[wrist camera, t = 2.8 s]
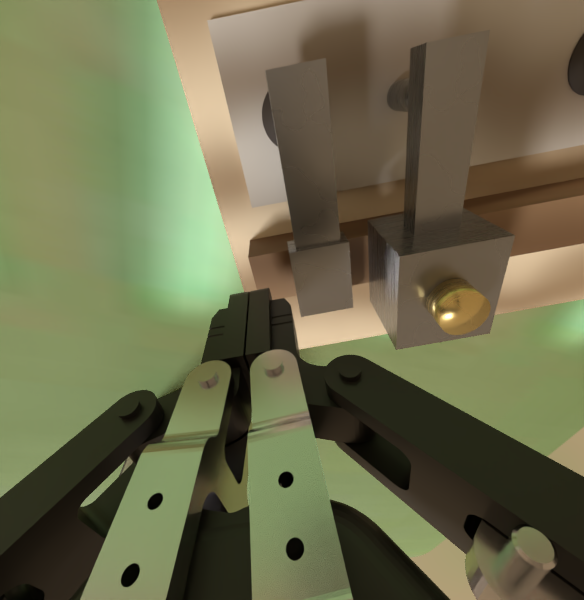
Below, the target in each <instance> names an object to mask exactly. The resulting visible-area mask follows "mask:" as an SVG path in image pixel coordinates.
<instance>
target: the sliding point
mask: <svg viewBox="0 0 584 600" xmlns="http://www.w3.org/2000/svg"><path fill="white" fill-rule="evenodd" d="M489 34H490V30H485V31H480V32H475V33H470V34H466V35H461V36H456V37H451V38H446V39H441V40H436V41H431V42H426V43H424V44H421V45H418V46H415V47H413V48H411V50H410V74H409V78H406V79H400V80H397V81H396V82H394V83H393V84H392V85H391V87H390V88H389V90H388V93H387V103H388V106H389V107H390V108H391V109H392V110H394V111H402V112H408V122H407V145H406V169H405V193H404V213H403V214H397V215H392V216H387V217H381V218H376V219H371V220H368V255H369V293H370V302H371V303H372V305H373V307H374V309H375V311H376V313H377V315H378V317H379V318H380V320H381V322H382V324H383V326H384V328H385V330H386V332H387V333H388V335H389V337H390V339H391V341H392V343H393V345H394V347H395V348H396V350H397V349H403V348H408V347H414V346H420V345H426V344H431V343H437V342H443V341H448V340H454V339H460V338H465V337H471V336H477V335H482V334H488V333H490V330H491V326H492V322H493V318H494V315H495V311H496V307H497V303H498V299H499V295H500V292H501V288H502V284H503V280H504V276H505V273H506V269H507V265H508V261H509V257H510V253H511V250H512V246H513V242H514V238H515V235H514V234H512V233H510V232H508V231H506V230H504V229H502V228H500V227H499V226H497V225H495V224H493V223H491V222H489V221H487V220H485V219H484V218H482V217H480V216H478V215H476V214H474V213H472V212H470V211H468V210H467V209H465V208H463V205H464V198H465V192H466V185H467V179H468V172H469V165H470V159H471V152H472V146H473V139H474V132H475V126H476V119H477V113H478V106H479V100H480V93H481V86H482V80H483V73H484V67H485V60H486V53H487V47H488V40H489Z"/></svg>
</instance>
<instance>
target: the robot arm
mask: <svg viewBox="0 0 584 600" xmlns="http://www.w3.org/2000/svg"><path fill="white" fill-rule="evenodd" d="M251 414H252V421H251ZM315 438H320V439H326V440H332V441H335V442H336V444H337V445H338V446H339V447H340V448H341V449H342V450H343V451H344V452H345V453H346V454H348V455H349V456H350V457H351V458H352V459H354V460H355V461H356V462H357V463H358V464H359V465H361V466H362V467H363V468H364V469H365V470H367V471H368V472H369V473H370V474H371V475H373V476H374V477H375V478H376V479H377V480H378V481H380V482H381V483H382V484H383V485H384V486H386V487H387V488H388V489H389V490H390V491H392V492H393V493H394V494H395V495H396V496H397V497H399V498H400V499H401V500H402V501H403V502H405V503H406V504H407V505H408V506H409V507H411V508H412V509H413V510H414V511H415V512H417V513H418V514H419V515H420V516H421V517H422V518H424V519H425V520H426V521H427V522H428V523H430V524H431V525H432V526H433V527H434V528H436V529H437V530H438V531H439V532H440V533H441V534H443V535H444V536H445V537H446V538H447V539H449V540H450V541H451V542H452V543H453V544H455V545H456V546H457V547H458V548H459V549H461V550H462V551H463V552H464V553H465V554H466V559H465V569H466V576H467V579H468V582H469V585H470V587H471V590H472V592H473V594H474V595H475V597H476V599H477V600H584V477H583V476H581V475H579V474H577V473H576V472H573V471H572V470H570V469H568V468H566V467H565V466H563V465H561V464H559V463H557V462H555V461H554V460H552V459H550V458H548V457H546V456H544V455H542V454H541V453H539V452H537V451H535V450H533V449H531V448H530V447H528V446H526V445H524V444H522V443H520V442H519V441H517V440H515V439H513V438H511V437H509V436H507V435H506V434H504V433H502V432H500V431H498V430H496V429H495V428H493V427H491V426H489V425H487V424H485V423H484V422H482V421H480V420H478V419H476V418H474V417H472V416H471V415H469V414H467V413H465V412H463V411H461V410H460V409H458V408H456V407H454V406H452V405H450V404H449V403H447V402H445V401H443V400H441V399H439V398H437V397H436V396H434V395H432V394H430V393H428V392H426V391H425V390H423V389H421V388H419V387H417V386H415V385H414V384H412V383H410V382H408V381H406V380H404V379H402V378H401V377H399V376H397V375H395V374H393V373H391V372H390V371H388V370H386V369H384V368H382V367H380V366H379V365H377V364H375V363H373V362H371V361H369V360H367V359H366V358H363V357H361V356H357V355H344V356H340V357H337V358H335V359H334V360H332V361H331V362H330V363H329V364H328V365H327V367H326V366H316V365H312V364H309V363H307V362H305V361H303V360H302V359H301V358H300V354H299V347H298V340H297V334H296V329H295V324H294V319H293V314H292V309H291V304H290V303H289V302H288V301H287V300H286V299H285V298H281V299H275V300H272V296H271V292H270V289H269V288H265V289H259V290H254V291H250V292H243V293H238V294H232V295H230V299H229V304H228V308H226V309H221V310H219V311H218V312H217V313H216V314H215V316H214V317H213V318H212V321H211V325H210V330H209V333H208V338H207V341H206V345H205V350H204V354H203V358H202V362H201V365H199V366H197V367H196V368H194V369H193V370H192V371H191V372H190V373H189V374H188V376H187V378H186V380H185V382H184V385H183V387H182V388H181V389H179V390H177V391H175V392H172V393H170V394H168V395H165V396H163V397H161V398H159V399H157V398H156V396H155V394H154V393H153V392H151V391H148V390H140V391H135V392H132V393H130V394H128V395H126V396H124V397H123V398H121V399H120V400H119V401H117V402H116V403H115V404H114V405H112V406H111V407H110V408H109V409H108V410H106V411H105V412H104V413H103V414H101V415H100V416H99V417H98V418H97V419H95V420H94V421H93V422H92V423H91V424H89V425H88V426H87V427H86V428H84V429H83V430H82V431H81V432H80V433H78V434H77V435H76V436H75V437H74V438H72V439H71V440H70V441H69V442H67V443H66V444H65V445H64V446H63V447H61V448H60V449H59V450H58V451H57V452H55V453H54V454H53V455H52V456H50V457H49V458H48V459H47V460H46V461H44V462H43V463H42V464H41V465H40V466H38V467H37V468H36V469H35V470H33V471H32V472H31V473H30V474H29V475H27V476H26V477H25V478H24V479H23V480H21V481H20V482H19V483H18V484H16V485H15V486H14V487H13V488H12V489H10V490H9V491H8V492H7V493H6V494H4V495H3V496H2V497H1V498H0V600H450V599H449V598H448V597H447V596H446V595H445V594H444V593H443V592H442V591H441V590H440V589H439V588H438V587H437V586H436V584H435V583H433V582H432V580H431V579H430V578H429V577H428V576H427V575H426V574H425V573H424V572H423V571H422V570H421V569H420V568H419V567H418V566H417V565H416V564H415V563H414V562H413V561H412V560H411V559H410V558H409V557H408V556H407V555H406V554H405V553H404V552H403V551H402V550H401V549H400V548H399V547H398V546H397V545H396V544H395V543H394V541H393V540H392V539H391V538H390V537H389V536H388V535H387V534H386V533H385V532H384V531H383V530H382V529H381V528H380V527H379V526H378V525H377V524H376V523H374V522H373V521H372V520H371V519H369V518H368V517H367V516H366V515H364V514H363V513H361V512H359V511H358V510H356V509H354V508H352V507H350V506H348V505H346V504H344V503H340V502H337V501H334V500H330V499H329V495H328V491H327V487H326V482H325V478H324V474H323V470H322V465H321V461H320V457H319V453H318V448H317V444H316V440H315ZM128 457H129V458H130V459H131V460H132V461H133V463H132V464H131V465H130V466H129V467H128V468H127V469H126V470H125V471H124V472H123V473H122V474H121V475H120V476H119V477H118V478H117V479H116V480H115V481H114V482H113V483H112V484H111V485H110V486H109V487H108V488H107V489H106V490H105V491H104V492H103V493H102V494H101V495H100V496H99V497H98V498H97V499H96V500H95V501H94V502H93V503H91V504H89V505H87V506H84V507H80V505H81V504H82V502H83V501H84V500H85V499H86V498H87V497H88V496H89V495H90V494H91V493H92V492H93V491H94V490H95V489H96V488H97V487H98V486H99V485H100V484H101V483H102V482H103V481H104V480H105V479H106V478H107V477H108V476H109V475H110V474H111V473H112V472H113V471H114V470H115V469H117V468H118V467H119V466H120V465H121V464H122V463H123V462H124V461H125V460H126V459H127V458H128ZM248 476H249V506H248V499H247V481H248Z"/></svg>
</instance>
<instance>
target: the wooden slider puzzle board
mask: <svg viewBox="0 0 584 600" xmlns="http://www.w3.org/2000/svg"><path fill="white" fill-rule="evenodd" d="M157 3H158V6H159V9H160V13H161V16H162V19H163V22H164V26H165V29H166V32H167V36H168V39H169V42H170V46H171V49H172V52H173V56H174V59H175V62H176V66H177V69H178V72H179V76H180V79H181V82H182V86H183V89H184V92H185V96H186V99H187V102H188V106H189V109H190V112H191V116H192V119H193V122H194V126H195V129H196V132H197V136H198V139H199V142H200V146H201V149H202V152H203V155H204V159H205V162H206V165H207V169H208V172H209V175H210V179H211V182H212V185H213V189H214V192H215V195H216V199H217V202H218V205H219V209H220V212H221V215H222V219H223V222H224V225H225V229H226V232H227V235H228V239H229V242H230V245H231V249H232V252H233V255H234V259H235V262H236V265H237V269H238V272H239V275H240V278H241V282H242V285H243V288H244V292H250V291H254V290H259V289H265V288H269V289H270V292H271V296H272V300H275V299H281V298H285V299H286V300H287V301H288V302H289V303H290V304H291V309H292V314H293V319H294V324H295V329H296V334H297V340H298V347H299V349H304V348H310V347H316V346H321V345H327V344H332V343H338V342H344V341H349V340H355V339H361V338H366V337H372V336H378V335H383V334H388V333H387V332H386V330H385V328H384V326H383V324H382V322H381V320H380V318H379V317H378V315H377V313H376V311H375V309H374V307H373V305H372V303H371V302H370V293H369V255H368V220H371V219H376V218H381V217H387V216H392V215H397V214H403V213H404V193H405V169H406V145H407V122H408V112H402V111H394V110H392V109H391V108H390V107H389V106H388V103H387V93H388V90H389V88H390V87H391V85H392V84H393V83H394V82H396V81H397V80H400V79H406V78H409V74H410V50H411V48H413V47H415V46H418V45H421V44H424V43H426V42H431V41H436V40H441V39H446V38H451V37H456V36H461V35H466V34H470V33H475V32H480V31H485V30H490V34H489V40H488V47H487V53H486V60H485V67H484V73H483V80H482V86H481V93H480V100H479V106H478V113H477V119H476V126H475V132H474V139H473V146H472V152H471V159H470V165H469V172H468V179H467V185H466V192H465V198H464V205H463V208H465V209H467V210H468V211H470V212H472V213H474V214H476V215H478V216H480V217H482V218H484V219H485V220H487V221H489V222H491V223H493V224H495V225H497V226H499V227H500V228H502V229H504V230H506V231H508V232H510V233H512V234H514V235H515V238H514V242H513V246H512V250H511V253H510V257H509V261H508V265H507V269H506V273H505V276H504V280H503V284H502V288H501V292H500V295H499V299H498V303H497V307H496V311H495V315H496V314H502V313H507V312H513V311H519V310H524V309H530V308H536V307H541V306H547V305H552V304H558V303H564V302H569V301H575V300H581V299H584V0H157ZM323 58H326V67H327V80H328V92H329V105H330V117H331V129H332V142H333V154H334V167H335V179H336V191H337V204H338V216H339V229H340V232H341V231H343V233H344V234H345V236H346V238H347V239H348V241H349V247H350V263H351V279H352V294H353V308H349V309H343V310H337V311H332V312H326V313H321V314H315V315H310V316H304V317H301V315H300V309H299V304H298V298H297V293H296V288H295V282H294V277H293V272H292V266H291V261H290V256H289V250H288V244H287V241H293V240H294V237H293V231H292V226H291V220H290V214H289V208H288V202H287V197H286V191H285V185H284V179H283V173H282V168H281V162H280V156H279V150H278V144H277V139H276V133H275V127H274V121H273V115H272V110H271V104H270V98H269V92H268V86H267V81H266V75H265V70H268V69H273V68H278V67H283V66H288V65H293V64H298V63H303V62H308V61H313V60H318V59H323Z"/></svg>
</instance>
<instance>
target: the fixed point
mask: <svg viewBox="0 0 584 600" xmlns="http://www.w3.org/2000/svg"><path fill="white" fill-rule="evenodd" d="M265 75H266V81H267V86H268V92H269V98H270V104H271V110H272V115H273V121H274V127H275V133H276V139H277V144H278V150H279V156H280V162H281V168H282V173H283V179H284V185H285V191H286V197H287V202H288V208H289V214H290V220H291V226H292V231H293V237H294V240H293V241H287V244H288V250H289V256H290V261H291V266H292V272H293V277H294V282H295V288H296V293H297V298H298V304H299V309H300V315H301V317H304V316H310V315H315V314H321V313H326V312H332V311H337V310H343V309H349V308H353V294H352V279H351V263H350V247H349V241H348V239H347V238H346V236H345V234H344V233H343V231H341V232H340V229H339V216H338V204H337V191H336V179H335V167H334V154H333V142H332V129H331V117H330V105H329V92H328V80H327V67H326V58H323V59H318V60H313V61H308V62H303V63H298V64H293V65H288V66H283V67H278V68H273V69H268V70H265Z"/></svg>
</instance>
